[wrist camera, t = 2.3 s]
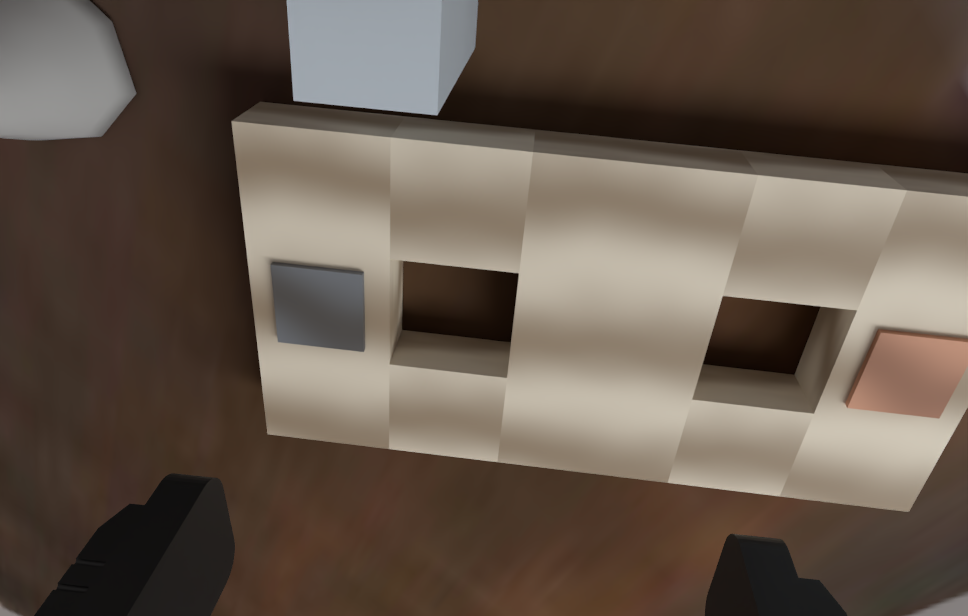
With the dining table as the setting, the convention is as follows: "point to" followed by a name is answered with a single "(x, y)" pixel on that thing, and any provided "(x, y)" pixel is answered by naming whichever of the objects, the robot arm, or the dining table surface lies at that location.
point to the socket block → (606, 302)
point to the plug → (380, 51)
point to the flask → (59, 70)
